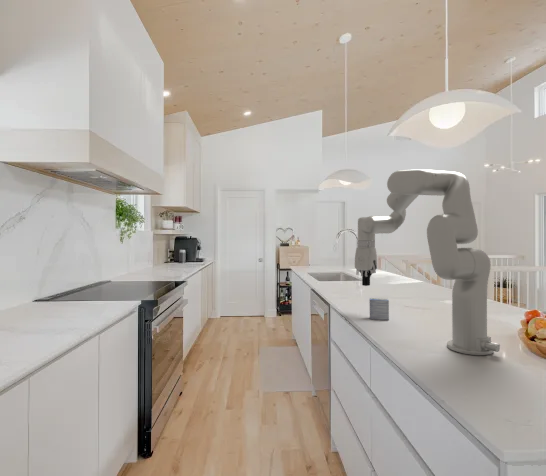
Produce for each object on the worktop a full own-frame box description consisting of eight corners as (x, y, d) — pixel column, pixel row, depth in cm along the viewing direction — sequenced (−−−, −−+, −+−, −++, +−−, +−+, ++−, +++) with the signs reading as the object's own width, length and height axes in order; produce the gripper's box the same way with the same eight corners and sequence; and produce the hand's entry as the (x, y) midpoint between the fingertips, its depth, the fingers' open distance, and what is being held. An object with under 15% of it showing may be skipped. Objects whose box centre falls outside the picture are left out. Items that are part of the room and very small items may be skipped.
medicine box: (388, 318, 152) (388, 298, 152) (389, 320, 148) (388, 300, 148) (369, 317, 155) (369, 297, 154) (369, 319, 150) (369, 299, 150)
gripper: (348, 244, 163) (348, 283, 163) (372, 245, 149) (371, 288, 150) (361, 244, 166) (360, 282, 167) (384, 245, 153) (384, 287, 153)
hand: (366, 285), depth 158 cm, fingers closed
